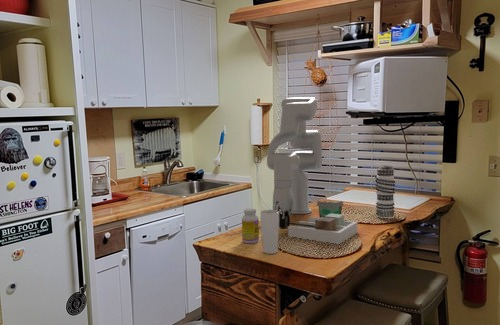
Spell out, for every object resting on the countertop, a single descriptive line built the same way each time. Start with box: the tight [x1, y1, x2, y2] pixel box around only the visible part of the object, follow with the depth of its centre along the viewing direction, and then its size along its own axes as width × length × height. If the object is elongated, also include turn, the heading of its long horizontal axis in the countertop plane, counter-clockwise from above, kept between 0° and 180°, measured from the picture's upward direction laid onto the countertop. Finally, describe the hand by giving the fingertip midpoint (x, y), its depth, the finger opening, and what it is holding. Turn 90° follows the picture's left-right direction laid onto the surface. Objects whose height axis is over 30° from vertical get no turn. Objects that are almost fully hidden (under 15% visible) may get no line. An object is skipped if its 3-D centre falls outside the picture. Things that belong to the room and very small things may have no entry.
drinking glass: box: [259, 209, 280, 255], centre depth 151 cm, size 7×7×15 cm
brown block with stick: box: [279, 216, 335, 231], centre depth 172 cm, size 24×6×6 cm, turn 56°
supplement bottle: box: [241, 208, 260, 244], centre depth 165 cm, size 7×7×13 cm
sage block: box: [325, 213, 345, 226], centre depth 175 cm, size 6×6×6 cm
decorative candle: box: [374, 164, 396, 218], centre depth 200 cm, size 9×9×25 cm
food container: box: [316, 200, 344, 218], centre depth 192 cm, size 12×6×10 cm, turn 70°
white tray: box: [287, 216, 359, 245], centre depth 173 cm, size 22×20×4 cm
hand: (283, 226), depth 178 cm, fingers closed on brown block with stick, 3 cm apart
